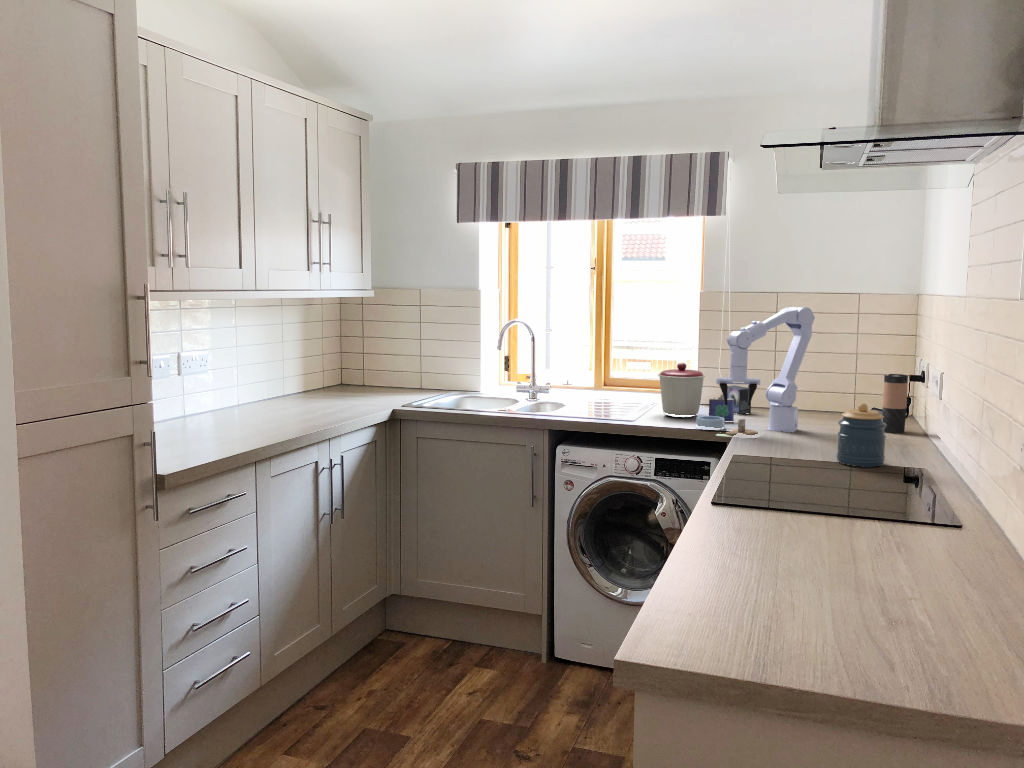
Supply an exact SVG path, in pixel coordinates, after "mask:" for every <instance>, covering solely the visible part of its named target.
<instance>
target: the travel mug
mask: <svg viewBox="0 0 1024 768" xmlns="http://www.w3.org/2000/svg"><path fill="white" fill-rule="evenodd" d="M883 377H884V378H883V379H884V380H883V394H882V395H883V396H882V412H881V413H882V414H881V415H883V416H884V418H882V420H883V421H884V423H886V425H887V426H886V427H885V428H884V433H886V434H887V433H888V434H895V433H899V434H904V433H905V429H906V417H907V416H906V415H907V408H908V407H907V403H908V378H909V376H908V375H907V374H901V373H888V374H887V375H886V374H884V375H883Z"/></svg>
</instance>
